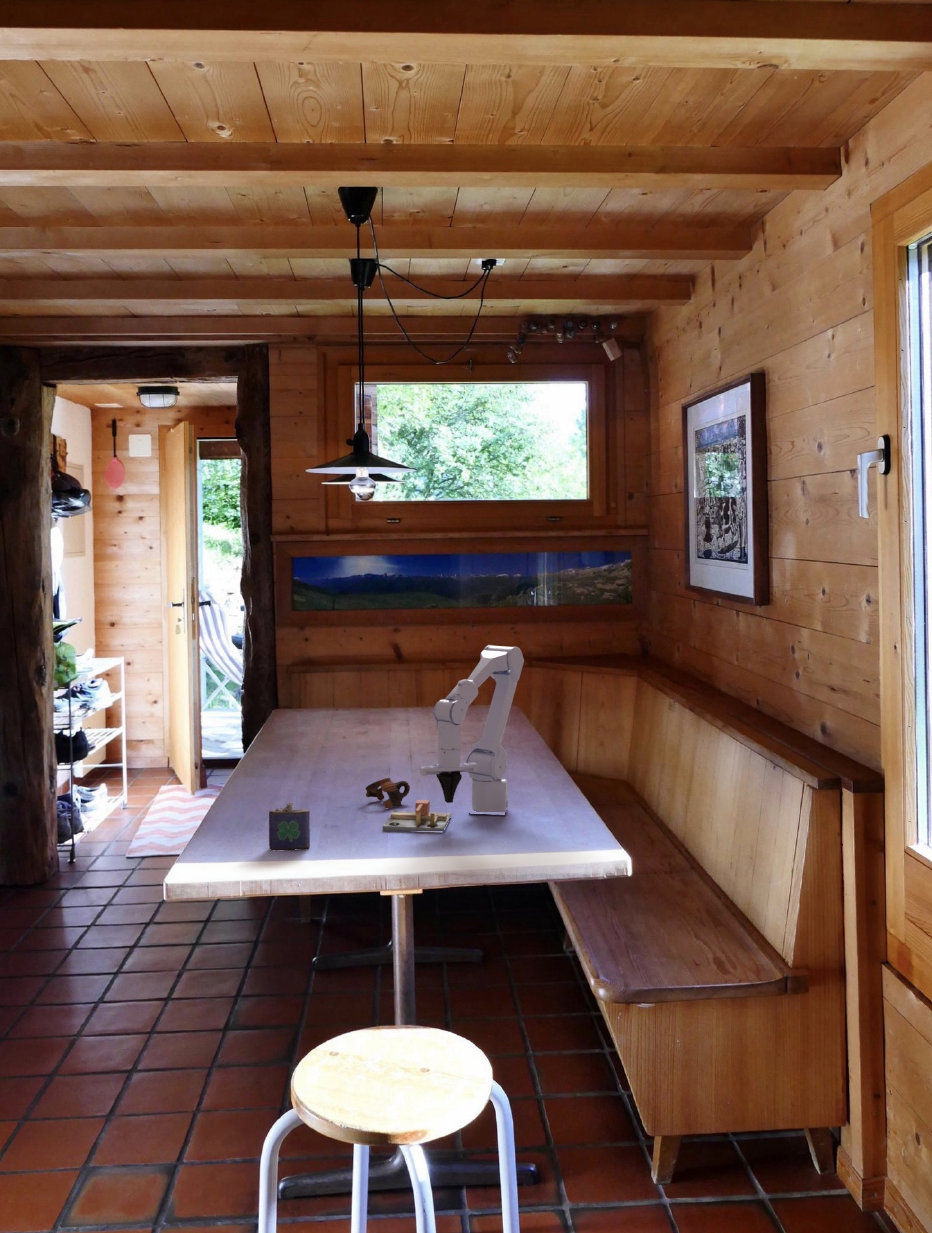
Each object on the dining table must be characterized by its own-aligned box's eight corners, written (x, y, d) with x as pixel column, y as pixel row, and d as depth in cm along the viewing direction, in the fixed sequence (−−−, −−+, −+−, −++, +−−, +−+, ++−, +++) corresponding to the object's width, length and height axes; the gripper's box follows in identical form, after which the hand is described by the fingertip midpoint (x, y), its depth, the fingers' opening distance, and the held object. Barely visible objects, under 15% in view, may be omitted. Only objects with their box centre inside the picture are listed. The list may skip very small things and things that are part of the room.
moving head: (429, 815, 239) (429, 800, 239) (423, 825, 230) (423, 809, 230) (417, 814, 239) (417, 799, 239) (411, 825, 230) (410, 809, 230)
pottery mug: (376, 813, 249) (365, 784, 251) (370, 820, 257) (359, 792, 260) (418, 797, 254) (406, 769, 256) (410, 804, 262) (399, 777, 264)
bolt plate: (451, 817, 243) (451, 812, 243) (443, 833, 229) (443, 827, 229) (394, 815, 245) (394, 810, 245) (382, 830, 231) (382, 825, 231)
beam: (446, 818, 238) (446, 806, 238) (442, 826, 230) (442, 814, 230) (392, 816, 240) (392, 804, 239) (385, 824, 232) (385, 812, 232)
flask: (310, 846, 218) (309, 800, 217) (309, 850, 215) (308, 804, 215) (269, 847, 217) (269, 801, 217) (268, 851, 214) (267, 805, 214)
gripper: (470, 743, 242) (469, 795, 243) (416, 746, 237) (416, 800, 238) (480, 748, 236) (480, 802, 236) (425, 752, 230) (425, 807, 231)
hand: (448, 801), depth 236 cm, fingers closed
